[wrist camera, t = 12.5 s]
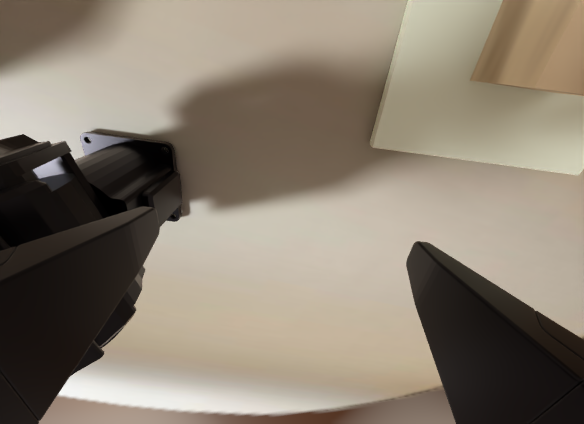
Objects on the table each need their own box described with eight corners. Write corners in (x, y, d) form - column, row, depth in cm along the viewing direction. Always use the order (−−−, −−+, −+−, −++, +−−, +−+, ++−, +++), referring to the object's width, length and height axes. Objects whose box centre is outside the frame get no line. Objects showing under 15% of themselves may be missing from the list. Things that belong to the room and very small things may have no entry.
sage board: (369, 143, 18) (372, 147, 17) (455, -178, 11) (468, -198, 10) (565, 170, 18) (578, 175, 18) (769, -130, 11) (807, -146, 11)
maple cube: (469, 80, 15) (534, 87, 11) (517, -34, 13) (626, -85, 8) (554, 92, 15) (652, 104, 11) (617, -19, 13) (776, -61, 8)
